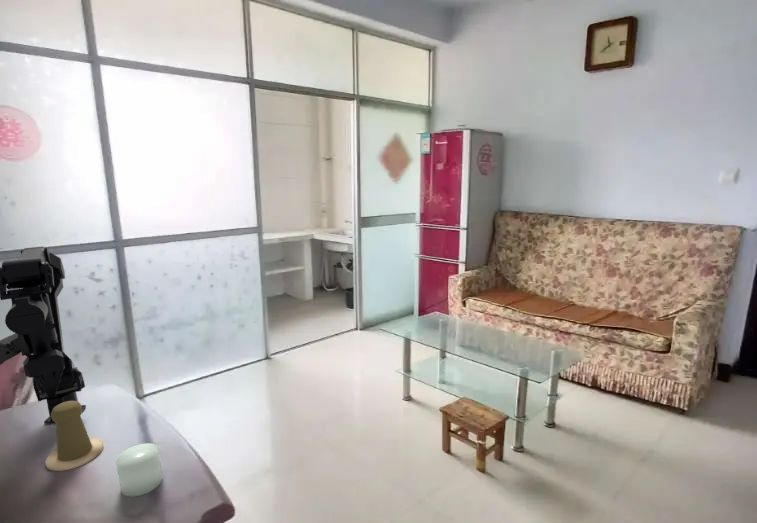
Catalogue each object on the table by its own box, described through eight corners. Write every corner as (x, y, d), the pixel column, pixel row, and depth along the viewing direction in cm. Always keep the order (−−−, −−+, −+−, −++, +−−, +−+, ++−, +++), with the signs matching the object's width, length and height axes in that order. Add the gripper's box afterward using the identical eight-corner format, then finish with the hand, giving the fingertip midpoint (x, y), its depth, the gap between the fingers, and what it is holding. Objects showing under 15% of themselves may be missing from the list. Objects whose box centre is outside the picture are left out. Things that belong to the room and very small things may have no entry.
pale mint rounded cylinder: (129, 473, 85) (124, 446, 83) (167, 468, 86) (163, 441, 85) (114, 499, 78) (109, 470, 77) (156, 493, 79) (151, 464, 78)
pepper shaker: (71, 464, 87) (60, 414, 85) (50, 458, 89) (39, 409, 87) (99, 445, 93) (90, 398, 90) (78, 440, 95) (69, 394, 92)
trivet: (62, 443, 95) (61, 440, 95) (111, 437, 96) (111, 434, 96) (35, 474, 85) (34, 471, 85) (90, 467, 87) (90, 464, 87)
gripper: (-16, 317, 91) (1, 385, 94) (-20, 343, 77) (-1, 422, 80) (50, 305, 98) (63, 369, 101) (57, 327, 83) (72, 400, 87)
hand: (50, 388), depth 92 cm, fingers open, 9 cm apart
